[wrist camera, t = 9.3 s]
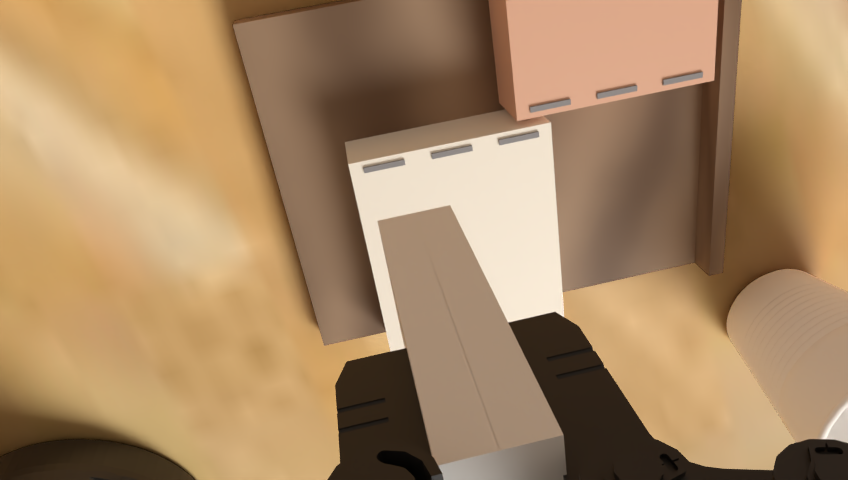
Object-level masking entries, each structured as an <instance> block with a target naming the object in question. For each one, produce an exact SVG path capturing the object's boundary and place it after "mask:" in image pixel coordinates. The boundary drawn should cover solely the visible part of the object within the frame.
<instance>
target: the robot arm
mask: <svg viewBox="0 0 848 480" xmlns="http://www.w3.org/2000/svg"><path fill="white" fill-rule="evenodd" d="M377 222H378V226H379V231H380V236H381V240H382V245H383V250H384V254H385V259H386V264H387V268H388V273H389V278H390V282H391V287H392V292H393V296H394V301H395V306H396V310H397V315H398V320H399V324H400V329H401V333H402V338H403V342H404V346H405V348H404V349H400V350H395V351H391V352H387V353H382V354H378V355H374V356H369V357H365V358H361V359H356V360H352V361H347V362H346V364H345V366H344V368H343V370H342V372H341V374H340V376H339V379H338V381H337V383H336V385H335V387H336V402H337V411H338V414H337V418H338V430H339V448H340V464H339V465H338V466H336V468H335V469H334V471H333V472H332V474H331V475H330V477H329V478H328V480H848V443H846V442H842V441H838V440H835V439H808V440H804V441H801V442H797V443H794V444H790V445H789V446H788V447H786V448H785V449H784V450H783V451H782V452H781V453H780V454H779V455H778V456H777V457H776V461H775V465H774V469H773V470H743V469H721V468H712V467H705V466H701V465H698V464H695V463H691V462H689V461H688V460H687V459H686V458H685V457H684V456H683V455H682V454H681V453H680V452H679V451H678V450H677V449H675V448H673V447H671V446H669V445H667V444H665V443H663V442H661V441H659V440H656V439H654V438H653V437H652V436H651V435H650V434H649V432H648V431H647V429H646V428H645V426H644V425H643V423H642V422H641V420H640V419H639V417H638V416H637V414H636V413H635V411H634V410H633V408H632V407H631V405H630V404H629V402H628V400H627V399H626V397H625V396H624V394H623V393H622V391H621V390H620V388H619V387H618V385H617V384H616V382H615V381H614V379H613V378H612V376H611V375H610V373H609V372H608V370H607V369H606V368H604V365H603V363H602V361H601V359H600V358H599V356H598V355H597V353H596V352H595V351H593V349H592V346H591V344H590V343H589V341H588V340H587V338H586V337H585V335H584V334H583V332H582V331H581V329H580V328H579V326H577V325H576V324H574V323H572V322H571V321H569V320H568V319H566V318H564V317H563V316H561V315H560V314H558V313H556V312H552V313H547V314H543V315H539V316H534V317H530V318H526V319H521V320H517V321H512V322H508V321H507V319H506V317H505V315H504V313H503V311H502V309H501V307H500V305H499V303H498V301H497V299H496V297H495V295H494V293H493V291H492V289H491V287H490V285H489V283H488V281H487V279H486V277H485V275H484V273H483V271H482V269H481V267H480V265H479V263H478V260H477V258H476V256H475V254H474V252H473V250H472V248H471V246H470V244H469V242H468V240H467V238H466V236H465V234H464V232H463V230H462V228H461V226H460V224H459V222H458V220H457V218H456V216H455V214H454V212H453V210H452V208H451V206H450V205H448V206H444V207H439V208H434V209H430V210H425V211H420V212H416V213H411V214H406V215H402V216H397V217H392V218H388V219H383V220H378V221H377ZM0 480H194V479H193V478H192V477H191V476H190V475H189V474H188V473H186V472H185V471H184V470H182V469H181V468H180V467H178V466H177V465H175V464H173V463H172V462H170V461H168V460H166V459H164V458H162V457H160V456H158V455H156V454H153V453H151V452H148V451H146V450H143V449H140V448H136V447H133V446H129V445H125V444H121V443H115V442H109V441H101V440H83V439H76V440H59V441H51V442H45V443H40V444H35V445H31V446H27V447H24V448H21V449H18V450H15V451H13V452H10V453H7V454H5V455H3V456H1V457H0Z"/></svg>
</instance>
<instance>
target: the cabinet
mask: <svg viewBox="0 0 848 480" xmlns="http://www.w3.org/2000/svg"><path fill="white" fill-rule="evenodd" d="M488 1H489V11H490V20H491V30H492V39H493V49H494V58H495V68H496V77H497V86H498V96H499V103H500V104H501V105H502V106H503V107H504V108H505V109H506V110H507V111H508V112H509V113H510V114H511V115H512V116H513V117H514V118H515V119H516V121H520V120H525V119H530V118H535V117H540V116H545V115H549V114H554V113H559V112H564V111H569V110H574V109H579V108H583V107H588V106H593V105H598V104H603V103H608V102H613V101H617V100H622V99H627V98H632V97H637V96H642V95H647V94H651V93H656V92H661V91H666V90H671V89H676V88H681V87H686V86H690V85H695V84H700V83H705V82H710V81H714V75H715V55H716V36H717V17H718V0H488Z"/></svg>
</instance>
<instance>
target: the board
mask: <svg viewBox="0 0 848 480" xmlns="http://www.w3.org/2000/svg"><path fill="white" fill-rule="evenodd" d="M741 2H742V0H718V17H717V36H716V55H715V75H714V81H710V82H705V83H700V84H695V85H690V86H686V87H681V88H676V89H671V90H666V91H661V92H656V93H651V94H647V95H642V96H637V97H632V98H627V99H622V100H617V101H613V102H608V103H603V104H598V105H593V106H588V107H583V108H579V109H574V110H569V111H564V112H559V113H554V114H549V115H545V116H544V117H545V118H547V119H548V120H549V121H550V122H551V130H552V145H553V159H554V174H555V189H556V203H557V218H558V233H559V248H560V262H561V277H562V292H566V291H570V290H575V289H579V288H584V287H588V286H593V285H597V284H601V283H606V282H610V281H615V280H619V279H624V278H628V277H633V276H637V275H642V274H646V273H650V272H655V271H659V270H664V269H668V268H673V267H677V266H682V265H686V264H691V263H696V264H697V265H698V266H699V267H700V268H701V269H702V270H703V271H704V272H706V273H707V274H708V275H709V276H710V275H715V274H719V273H723V265H724V251H725V236H726V222H727V207H728V192H729V178H730V163H731V148H732V134H733V119H734V105H735V90H736V75H737V61H738V46H739V32H740V17H741ZM233 28H234V31H235V35H236V38H237V42H238V45H239V49H240V52H241V56H242V59H243V63H244V66H245V70H246V73H247V77H248V80H249V84H250V87H251V91H252V94H253V98H254V101H255V105H256V109H257V112H258V116H259V119H260V123H261V126H262V130H263V133H264V137H265V140H266V144H267V147H268V151H269V154H270V158H271V161H272V165H273V168H274V172H275V175H276V179H277V182H278V186H279V189H280V193H281V196H282V200H283V203H284V207H285V210H286V214H287V217H288V221H289V224H290V228H291V231H292V235H293V238H294V242H295V245H296V249H297V252H298V256H299V259H300V263H301V266H302V270H303V273H304V277H305V280H306V284H307V287H308V291H309V294H310V298H311V301H312V305H313V308H314V312H315V315H316V319H317V322H318V326H319V329H320V333H321V336H322V340H323V343H324V346H325V345H329V344H334V343H338V342H343V341H347V340H352V339H356V338H361V337H365V336H370V335H374V334H378V333H383V332H386V329H385V325H384V320H383V316H382V311H381V307H380V302H379V298H378V294H377V289H376V285H375V280H374V276H373V272H372V267H371V263H370V258H369V254H368V250H367V245H366V241H365V236H364V232H363V228H362V223H361V219H360V214H359V210H358V205H357V201H356V197H355V192H354V188H353V183H352V179H351V175H350V170H349V166H348V160H347V154H346V148H345V142H348V141H353V140H357V139H362V138H367V137H372V136H377V135H382V134H387V133H392V132H397V131H402V130H407V129H412V128H416V127H421V126H426V125H431V124H436V123H441V122H446V121H451V120H456V119H461V118H466V117H470V116H475V115H480V114H485V113H490V112H495V111H500V110H505V108H504V107H503V106H502V105H501V104H500V103H499V96H498V86H497V77H496V68H495V58H494V49H493V39H492V30H491V20H490V11H489V1H488V0H341V1H336V2H331V3H325V4H320V5H315V6H309V7H304V8H299V9H294V10H288V11H283V12H278V13H272V14H267V15H262V16H257V17H251V18H246V19H241V20H235V22H234V23H233Z"/></svg>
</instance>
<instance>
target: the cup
mask: <svg viewBox="0 0 848 480" xmlns="http://www.w3.org/2000/svg"><path fill="white" fill-rule="evenodd" d="M726 325H727V333H728V336H729V339H730V341H731V342H732V344H733V345H734V347H735V348H736V350H737V351H738V353H739V355H740V356H741V358H742V359H743V361H744V362H745V364H746V365H747V367H748V368H749V370H750V372H751V373H752V374H753V376H754V378H755V379H756V381H757V382H758V384H759V385H760V387H761V388H762V390H763V392H764V393H765V395H766V396H767V398H768V399H769V401H770V403H771V404H772V406H773V407H774V409H775V410H776V412H777V413H778V415H779V417H780V418H781V419H782V421H783V423H784V425H785V426H786V428H787V430H788V431H789V433H790V434H791V436H792V437H793V439H794V441H795V442H796V443H797V442H801V441H804V440H808V439H835V440H838V441H842V442H846V443H848V292H846V291H845V290H843V289H840V288H838V287H836V286H834V285H832V284H830V283H828V282H826V281H824V280H821V279H819V278H817V277H815V276H813V275H811V274H809V273H806V272H804V271H801V270H797V269H783V270H777V271H774V272H771V273H768V274H766V275H763V276H761V277H759V278H757V279H756V280H754V281H753V282H751V283H750V284H748V285H747V286H746V287H745V288H744V289H743V290H742V291H741V292H740V294H739V295H738V296H737V297H736V299H735V301H734V302H733V304H732V306H731V308H730V311H729V314H728V317H727V324H726Z"/></svg>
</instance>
